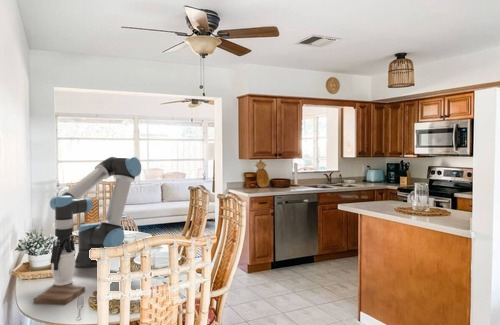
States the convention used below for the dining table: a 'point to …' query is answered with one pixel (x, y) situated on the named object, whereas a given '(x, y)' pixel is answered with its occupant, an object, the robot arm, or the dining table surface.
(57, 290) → the board
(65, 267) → the jar
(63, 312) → the dining table surface
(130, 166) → the robot arm
